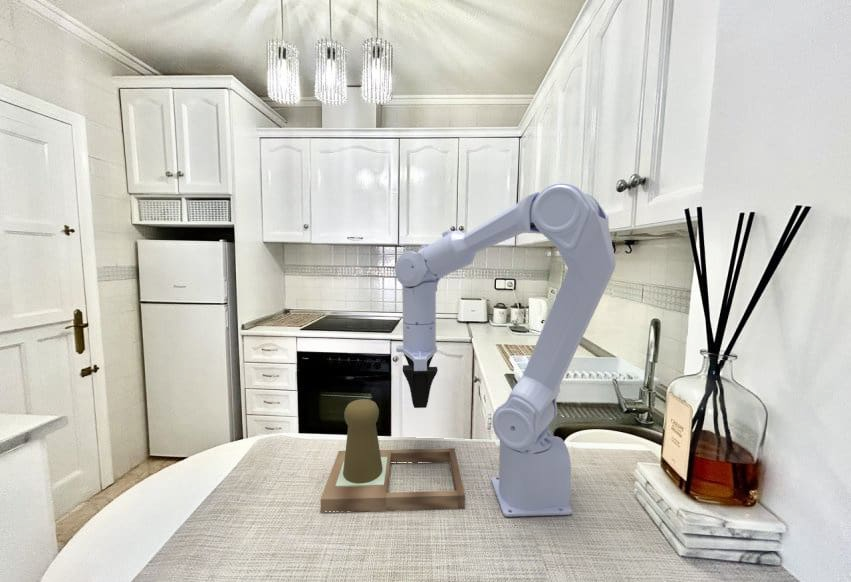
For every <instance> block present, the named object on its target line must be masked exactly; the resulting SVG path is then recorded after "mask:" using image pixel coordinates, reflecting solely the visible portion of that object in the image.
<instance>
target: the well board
mask: <svg viewBox="0 0 851 582" xmlns="http://www.w3.org/2000/svg"><path fill="white" fill-rule="evenodd" d="M345 451H346V450H339V451H338V452H337V455H336V458H335V460H334V463H333V466H332V468H331V471H330V474H329V477H328V479H327V481H326V484H325V487H324V489H323V492H322V494H321V497H320V500H319V501H320V513H321V512H325V511H327V512H329V511H331V512H333V511H335V512H336V511H339V512H338V513H342V512H341V511H344V512H343V513H348V512H347V511H370V512H384V511H383V510H392V511H391V512H394V511H396V510H404V511H429V510H430V511H431V510H432V511H434V509H437V510H460V509H461V510H463V509H464V510H465V509H466V506H465V505H466V493H465V489H464V484H463V481H462V476H461V475H462V474H461V471H460V467H459V462H458V458H457V453H456V448H454V447H453V448H452V447H451V448H450V447H449V448H448V447H447V448H444V447H443V448H412V449H411V448H409V449H408V448H407V449H380V455H381V461H382V468H383V470H382V473H381V475H380V476H379V477H378V478H377V479H375V480H373V481H371V482H367V483H359V484H357V483H351V482H349V481H347V480H346V479H345V478H344V476H343V469H344V460H345ZM391 462H396V463H397V462H407V463H408V462H412V463H415V464H419V463H418V462H450V463H449V467H451V468H450V473H452V474H451V478H452V484H453V490H438V491H437V490H435V491H433V490H432V491H401V492H397V491H395V492H389V489H390V480H389V478H390V477H391V470H390V468H391V467H392V464H391ZM391 469H392V468H391ZM390 479H391V478H390ZM388 488H389V489H388ZM396 512H397V511H396Z"/></svg>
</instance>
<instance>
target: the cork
mask: <svg viewBox="0 0 851 582" xmlns="http://www.w3.org/2000/svg"><path fill="white" fill-rule="evenodd" d="M343 412H344V413H343V415H344V421H345V424H346V425H347V434H346V442H345V443H346V444H345V450H344V451H345V460H344V469H343V476H344V478H345V479H346V480H347V481H349V482H351V483H357V484H359V483H367V482H371V481H373V480H375V479H377V478H378V477H379V476H380V475H381V473H382V470H383V468H382V461H381V455H380V450H381V449H380V444H379V443H380V442H379V437H378V431H377V425H376V423H377V422H378V420H379V415H380V409H379V407H378V405H377V403H376V402H375V401H373V400H371V399H367V398H366V399H365V398H364V399H361V398H360V399H356V400H353V401H350V402H349V403H348V404H347V405H346V407H345V410H344V411H343Z"/></svg>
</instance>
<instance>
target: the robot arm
mask: <svg viewBox="0 0 851 582" xmlns="http://www.w3.org/2000/svg"><path fill="white" fill-rule="evenodd" d="M609 222H610V220H609V216H608V215H607V213H606V212H605V210H604V209H603V207H602V206H601V204H600V203H599V201H597V199H596V198H595V197H593V195H590V194H588V193H585V192H584V191H582V190H581V189H580V188H579V187H578V186H576V185H574V184H573V183H568V182H557V183H553V184H550V185H548V186H546V187H545V188H543V189H542V190H541V191H540V192H539V191H537V192H533V193H531V194H528V195H527V196H525V197H524V198H523V199H521V200H519V202H517V203H515V204H514V205H512V206H511V207H508V208H507V209H505V210H504V211H502V212H500V213H498V214H497V215H495V216H493V217H492V218H490V219H488V220H487V221H485V222H483V223H482V224H480V225H478V226H477V227H475V228H473V229H472V230H469V231H468V232H466V233H464V232H462V231H459V230H454V231H453V230H445V231H444V232H442V233H441V236H442V237H441V238H439V239H437V240H435V241H433V242H432V243H430V244H428V243H426V244H425V243H424V244H422V245H421V246H420V249H419V250H418V251H416V252H415V251H412V250H406V251H404V252H403V253H402V254H401V255H399V257H398V258H397V259H396V262H395V266H394V271H395V272H394V273H395V277H396V280H397V281H398V282H399V283H400V284H401V285H402V287H401V288H402V292H401V293H402V294H401V295H402V345H396V347H395V349H396V351H395V352H396V353H403V356H404V358H405V359H406V362H407V364H403V365H402V373H403V375H404V377H405V379H406V381H407V384H408V386H409V391H410V395H411V396H410V397H411V402H412V405H413V408H414V409H425V408H427V406H428V403H429V399H430V393H431V387H432V384H433V381H434V379H435V377H436V375H437V374H438V366H430V365H431V362H432V361H433V358H434V356H435V354H436V353H437V351H438V346H437V343H436V342H437V337H436V336H437V332H436V331H437V329H436V327H437V320H436V316H437V313H436V311H437V310H436V309H437V303H436V302H437V298H436V297H437V292H438V283H439V282H440V280H441V279H442V278H444V277H445V276H448V275H450V274H452V273H455V272H456V271H459V270H461V269H463V268H465V267H468V266H469V265H471V264H472V263H473V262H474V259H475V257H476V254H477V253H479V252H481V251H483V250H486V249H488V248H490V247H493V246H495V245H498V244H500V243H502V242H505V241H508V240H510V239H512V238H514V237H516V236H520V235H522V234H526V233H527V234H538V235H540V234H541V235H543V236H544V237H545V238H546V239H547V240H548V241H550V242H551V243H552V244H553V245H554V246H555V247H556V250H557V251H558V252H559V255H560V256H561V258H562V261H563V262H564V264H565V266H566V268H567V272H566V274H565V276H564V278H563V280H562V283H561V285H560V288H559V290H558V292H557V295H556V296H555V299H554V302H553V303H552V306H551V309H550V311H549V313H548V315H547V318H546V320H545V323H544V325H543V326H542V330H541V332H540V334H539V337H538V339H537V341H536V342H535V346H534V348H533V350H532V352H531V354H530V357H529V360H528V362H527V364H526V367H525V369H524V371H523V374H522V376H521V377H520V378H519V379H518V381H517V383H516V384H515V385H514V387H513V389H512V390H511V391H510V392H509V396H508V398H507V400H506V401H505V402H504V403H502V404H500V405H499V406H498V407H497V408H496V409H495V410H494V413H493V415H492V420H491V423H492V427H493V431H494V434H495V435H496V436H497V438H498V440H499V458H498V460H499V461H498V462H499V464H498V466H499V468H498V469H499V470H498V473H499V474H498V476H492V477H491V479H490V481H491V484H492V486H493V490H494V493H495V495H496V498H497V501H498V503H499V506H500V509H501V512H502V515H503V516H505V517H533V516H535V517H536V516H564V515H565V516H566V515H568V516H569V515H572V512H573V511H572V509H571V506H570V503H571V502H570V501H571V479H572V478H571V477H572V463H571V456H570V452H569V450H568V446H567V445H566V443H565V441H564V439H562V438H561V437H559V436H553V435H552V434H551V431H550V427H549V425H550V424H551V423H552V422H553V421H554V420H555V419H556V416H557V413H558V407H557V406H558V404H557V398H558V396H559V393H560V392H561V388H560V387H561V384H562V382H563V379H564V378H565V375H566V373H567V371H568V368H569V367H570V365H571V362H572V360H573V358H574V356H575V354H576V352H577V350H578V348H579V346H580V344H581V341H582V339H583V337H584V335H585V333H586V331H587V329H588V326H589V324H590V322H591V320H592V318H593V317H594V315H595V313H596V309H597V308H598V306H599V303H600V301H601V299H602V297H603V295H604V293H605V291H606V289H607V286H608V285H609V282H610V280H611V278H612V276H613V274H614V271H615V269H616V266H617V265H616V264H617V263H616V257H615V252H614V248H613V243H612V236H611V233H610V232H611V231H610V227H609V224H610V223H609Z"/></svg>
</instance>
